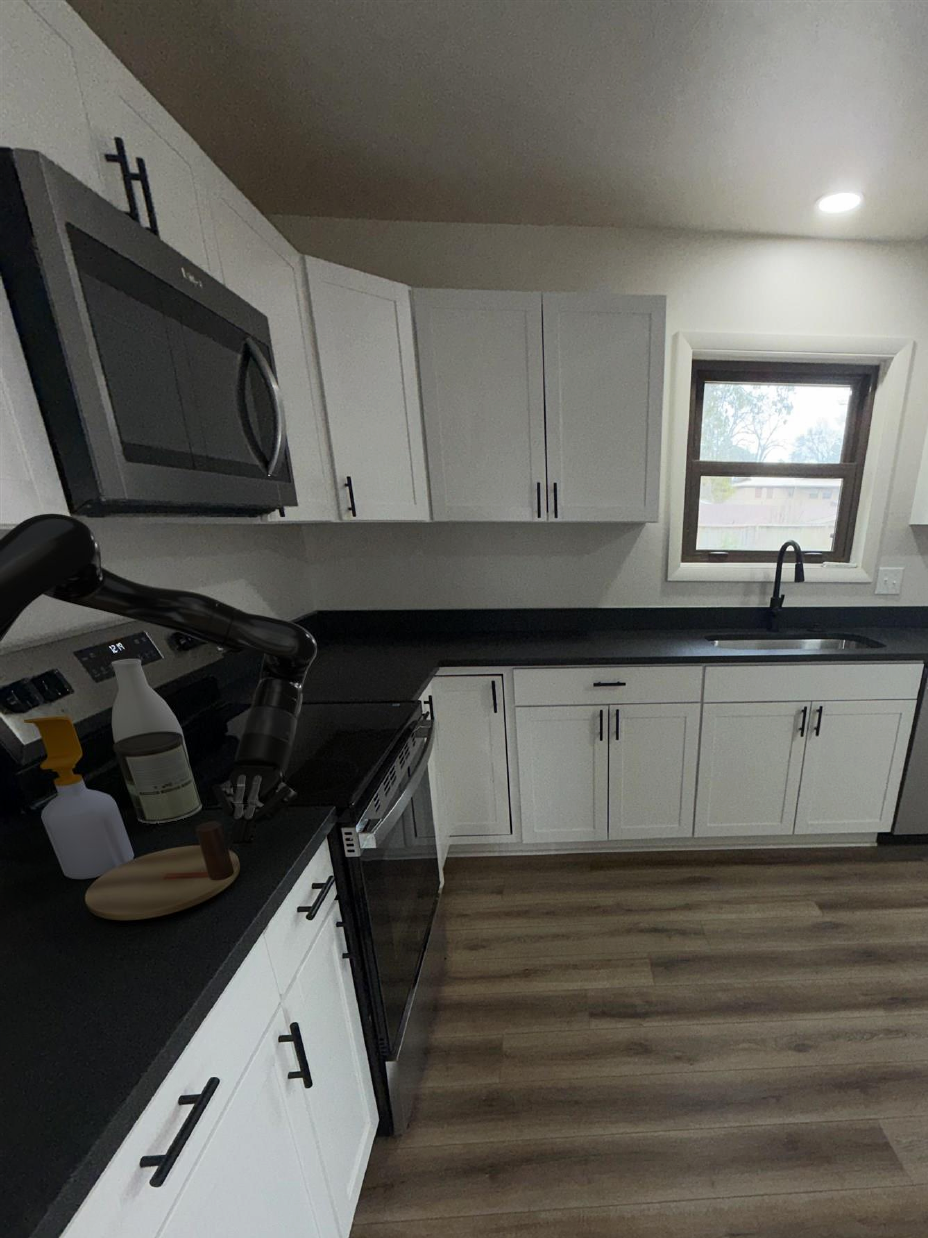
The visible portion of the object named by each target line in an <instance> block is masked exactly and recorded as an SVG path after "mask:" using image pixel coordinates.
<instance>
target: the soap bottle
mask: <svg viewBox="0 0 928 1238" xmlns="http://www.w3.org/2000/svg"><path fill="white" fill-rule="evenodd" d="M23 722H24V724H25V723H26V724H34V725H35V726H36V727H37V729H38V732H39V735H40V738H41V740H42V742H43V745H44V748H45V750H46V755H47V757H46V759H45V760H44V761H43V762H42V763H41V764H40V765H39V767H40V769H41V770H49V769H50V770H51V771H52V772H55V773H57V774H58V777H57V778H55V779H53V783H54V786H55V788H56V789H55V790H56V792H57V795H56V797H54V798H53V799H51V800H49V802H48V803H47V804H46V805H45V806H44V808H43V809H42V810H41V816H40V818H41V820H42V823H43V826H44V828H45V831H46V833H47V836H48V838H49V840H50V843H51V845H52V849H53V850H54V853H55V856H56V858H57V860H58V863H59V866H60V867H61V871H62V872H63V875H64V876H65V877H67V878H69V879H72V880H88V879H96V878H99V877H101V876H102V875H104V874H105V873H107V872H108V871H110V870H112V869H113V868H115V867H117V866H119V865H121V864H124V863H126V862H128V861H130V860H133V859H134V857H135V853H134V851H133V847H132V845H131V842H130V841H131V840H130V838H129V836H128V833H127V830H126V826H125V825H124V821H123V818H122V815H121V812H120V810H119V807H118V804H117V802H116V800H115V799H114V798H113V797H112V796H111V795H110V794H108V793H105V792H103V791H99V790H97V789H89V788H87V787H86V784H85V781H84V778H83V776H82V774H78V773H74V771H73V769H75V768H76V764H77V763H78V762H79V761H80V760H81V758H82V757H83V749H82V747H81V743H80V740H79V738H78V737H79V736H78V735H77V732H76V729H75V726H74V724H73V721H72V719H71V718H70V717H69V716H47V717H38V718H28V719H27V718H26V719H23Z"/></svg>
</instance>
